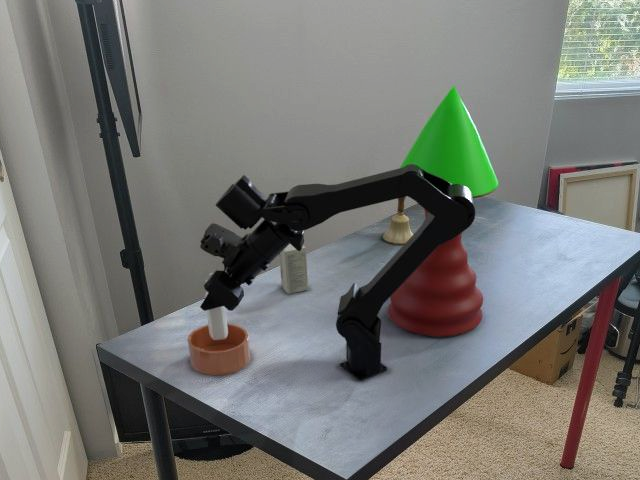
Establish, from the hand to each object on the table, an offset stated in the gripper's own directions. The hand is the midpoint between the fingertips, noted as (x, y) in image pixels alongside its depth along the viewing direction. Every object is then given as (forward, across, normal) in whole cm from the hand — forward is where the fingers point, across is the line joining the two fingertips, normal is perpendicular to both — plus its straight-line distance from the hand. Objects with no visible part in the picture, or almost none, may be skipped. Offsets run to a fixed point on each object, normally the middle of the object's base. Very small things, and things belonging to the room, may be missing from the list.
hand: (207, 301), depth 131 cm
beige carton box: (+3, -32, +15) cm, 36 cm away
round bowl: (+8, 0, +9) cm, 12 cm away
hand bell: (-12, -65, +30) cm, 73 cm away
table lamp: (-19, -24, +38) cm, 49 cm away
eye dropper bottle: (+4, 0, +6) cm, 7 cm away
